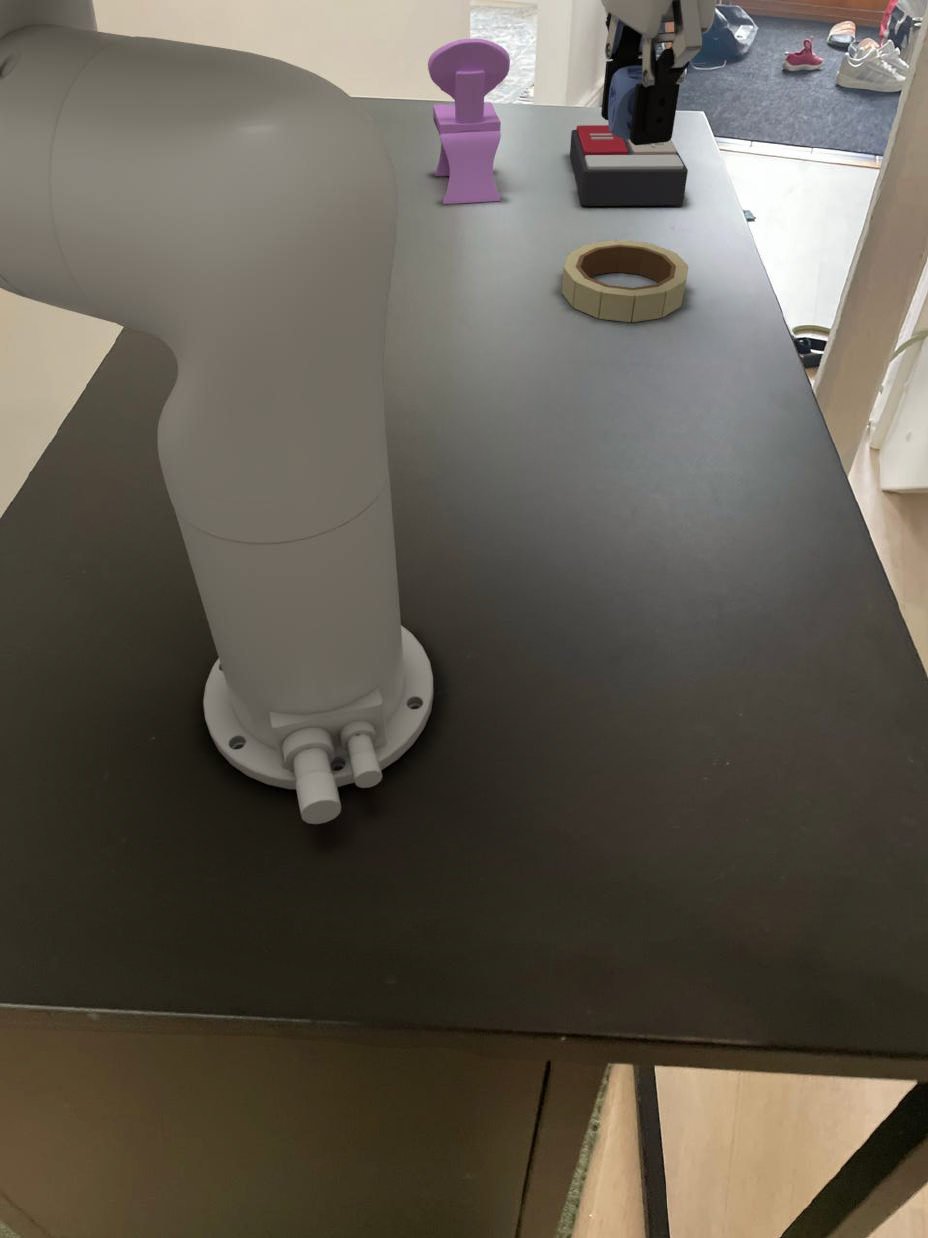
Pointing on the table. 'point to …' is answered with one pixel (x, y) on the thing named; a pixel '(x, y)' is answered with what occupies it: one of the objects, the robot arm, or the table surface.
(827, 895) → the table surface
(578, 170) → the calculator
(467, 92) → the toy chair
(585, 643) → the table surface
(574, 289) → the tape roll
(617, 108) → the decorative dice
